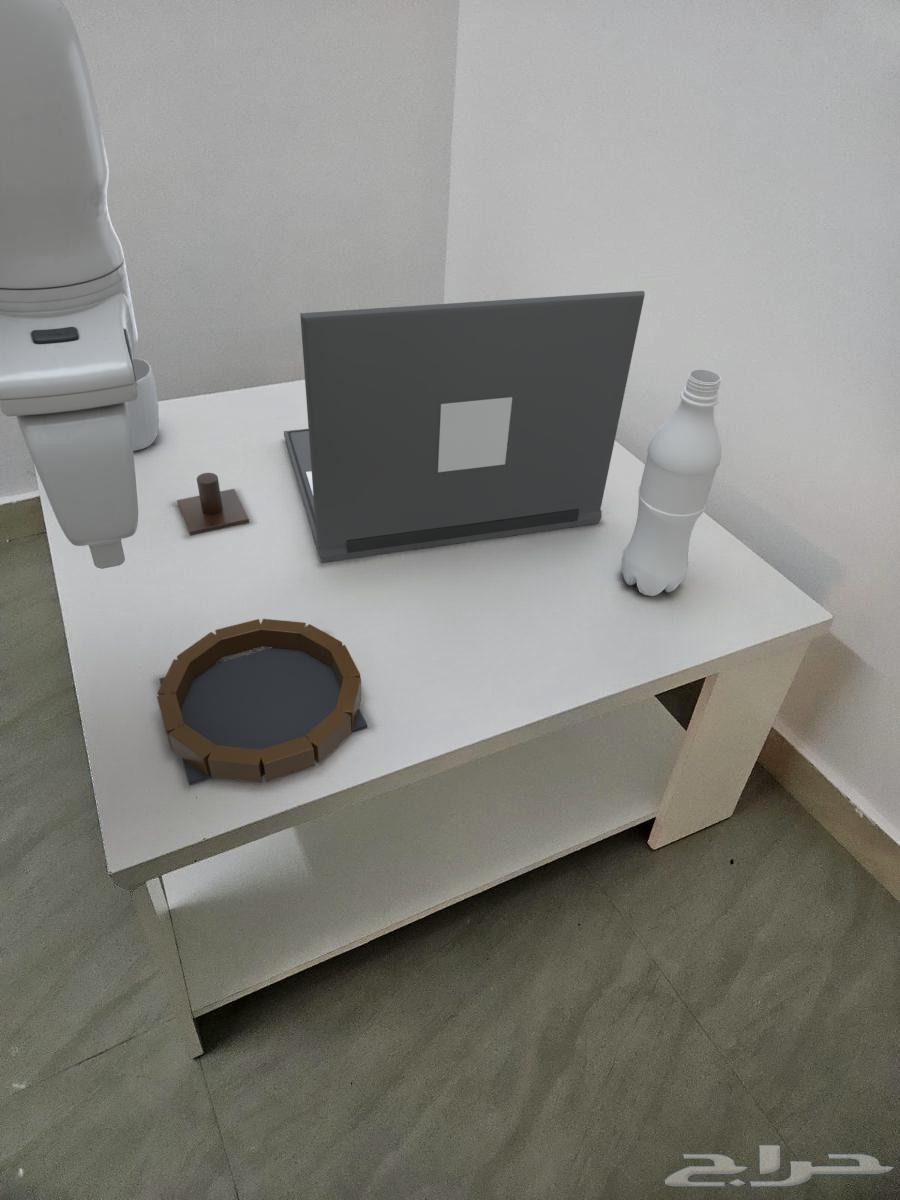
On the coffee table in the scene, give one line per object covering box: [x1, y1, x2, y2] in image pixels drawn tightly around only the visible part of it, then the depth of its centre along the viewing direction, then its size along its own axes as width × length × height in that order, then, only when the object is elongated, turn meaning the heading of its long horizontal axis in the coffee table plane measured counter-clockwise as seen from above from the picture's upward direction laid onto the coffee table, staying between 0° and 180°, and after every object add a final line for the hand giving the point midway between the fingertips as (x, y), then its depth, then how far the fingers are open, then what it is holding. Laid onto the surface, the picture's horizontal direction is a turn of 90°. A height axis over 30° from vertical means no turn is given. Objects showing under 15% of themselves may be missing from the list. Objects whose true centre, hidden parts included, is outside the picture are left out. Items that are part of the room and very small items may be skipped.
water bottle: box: [621, 368, 722, 597], centre depth 84 cm, size 7×7×25 cm
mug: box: [127, 356, 160, 452], centre depth 106 cm, size 13×9×10 cm
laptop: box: [283, 290, 646, 564], centre depth 97 cm, size 35×28×28 cm
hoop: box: [156, 618, 362, 783], centre depth 75 cm, size 18×18×2 cm
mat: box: [159, 647, 368, 786], centre depth 76 cm, size 16×13×1 cm
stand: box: [176, 472, 250, 536], centre depth 97 cm, size 7×7×5 cm
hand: (99, 519), depth 54 cm, fingers open, 8 cm apart
